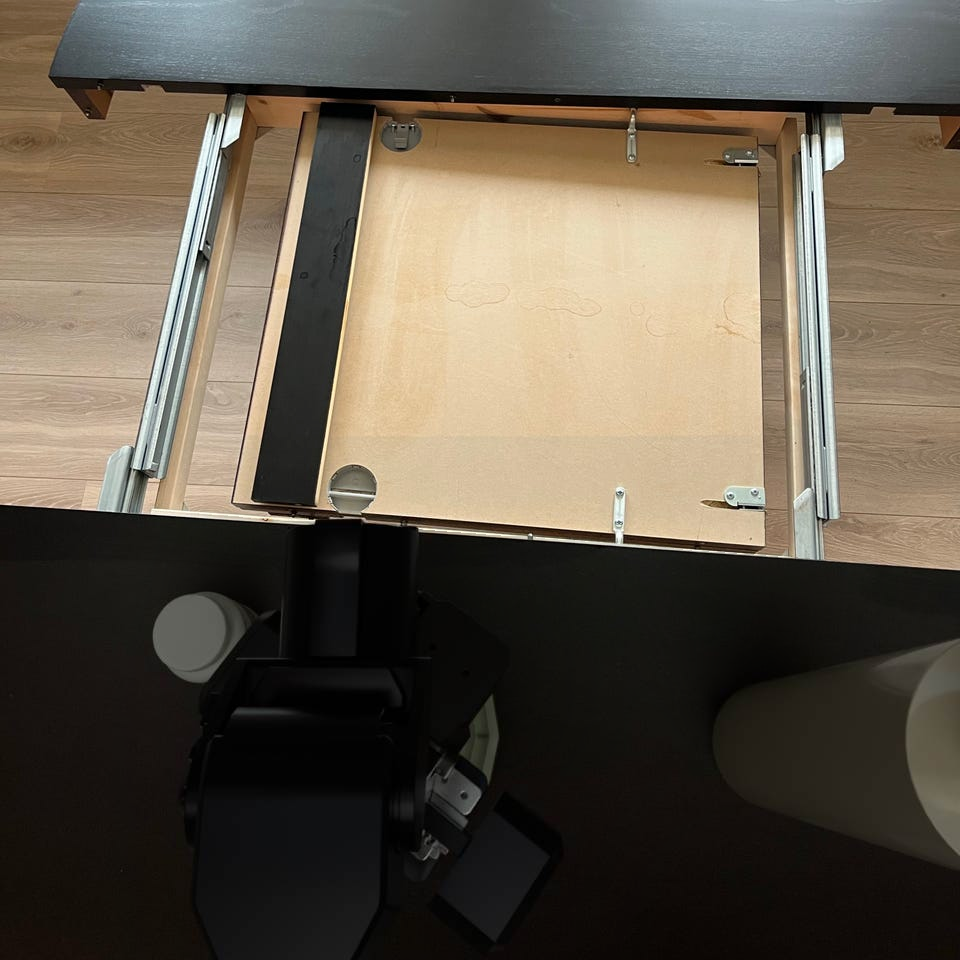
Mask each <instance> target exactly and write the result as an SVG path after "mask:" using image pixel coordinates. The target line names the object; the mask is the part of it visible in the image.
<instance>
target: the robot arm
mask: <svg viewBox="0 0 960 960" xmlns="http://www.w3.org/2000/svg"><path fill="white" fill-rule="evenodd" d="M419 542H420V528H419V527H418V526H415V525H394V524H386V523H376V522H365V521H364V520H363V519H362V518H315V520H314V522H313V523H308V524H302V525H298V526H289V527H286V536H285V551H284V565H283V568H284V569H283V581H282V584H283V585H282V597H281V598H282V599H281V609H279V608H278V609H273V610H268V611H263V613H262V614H260V615H258V616H259V617H258V618H257V619H256V620H254V622H253V623H252V624H251V626H250V627H249V628H248V629H247V631H246V632H245V633H244V635H243V636H242V637H241V638H240V640H239V641H238V642H237V644H236V645H235V646H234V647H233V649H232V650H231V651H230V653H229V654H228V655H227V656H226V658H225V659H224V660H223V662H222V663H221V664H220V666H219V667H218V668H217V669H216V671H215V672H214V673H213V675H212V676H211V677H210V678H209V680H208V681H207V682H206V684H203V687H202V689H201V691H200V694H199V696H198V714H200V716H201V719H200V723H199V725H198V728H197V731H196V735H195V736H194V737H195V738H194V740H193V744H192V746H191V749H190V751H189V755H188V757H187V758H188V759H187V761H186V764H185V767H184V770H183V773H182V776H181V779H180V781H179V786H178V789H177V798H176V799H177V811H178V813H179V814H180V816H181V817H182V819H183V822H184V823H183V824H184V825H183V826H184V835H185V840H186V845H187V846H188V848H189V849H190V851H191V852H193V854H192V867H191V879H190V880H191V881H190V891H189V905H190V908H191V912H192V914H193V918H194V919H195V922H196V924H197V927H198V929H199V932H200V934H201V936H202V939H203V941H204V944H205V946H206V948H207V950H208V953H209V955H210V957H211V960H374V958H375V957H376V954H377V953H378V951H379V950H380V948H381V946H382V944H383V942H384V940H385V938H386V937H387V935H388V933H389V931H390V930H391V928H392V926H393V924H394V922H395V921H396V919H397V917H398V915H399V913H400V910H401V909H402V906H403V896H404V878H405V877H406V878H407V879H408V880H409V881H410V882H413V883H417V884H418V883H423V882H425V881H427V880H428V878H429V877H430V876H431V874H432V873H433V871H434V870H435V868H436V867H437V866H438V864H439V862H440V860H441V859H442V858H443V856H447V854H448V853H449V852H450V853H451V854H452V855H453V856H455V857H456V858H457V860H456V862H454V864H453V866H452V867H451V869H450V871H449V872H448V873H447V875H446V876H445V878H444V879H443V881H442V882H441V884H440V885H439V887H438V889H437V890H436V892H435V893H434V894H433V895H432V897H431V898H430V900H429V901H428V903H427V905H426V906H425V908H426V909H427V910H428V911H429V912H430V913H431V914H432V915H434V916H435V917H436V918H437V919H439V920H440V921H441V922H442V923H443V924H445V926H447V927H448V928H449V929H450V930H451V931H453V932H454V933H455V934H456V935H457V936H458V937H459V938H460V939H462V940H463V941H464V942H465V943H466V944H468V946H470V947H471V948H472V949H474V950H475V951H476V952H477V953H478V954H480V955H481V957H483V958H485V957H490V956H495V955H499V954H502V953H503V952H504V950H505V949H506V947H507V946H508V945H509V943H510V942H511V941H512V939H513V937H514V936H515V934H516V933H517V931H518V929H519V928H520V927H521V925H522V923H523V922H524V920H525V918H526V917H527V916H528V914H529V912H530V911H531V909H532V907H533V906H534V905H535V903H536V901H537V900H538V898H539V897H540V895H541V893H542V892H543V890H544V889H545V888H546V886H547V884H548V882H549V881H550V879H551V878H552V876H553V875H554V873H555V872H556V870H557V868H558V867H559V865H560V863H561V861H562V860H563V858H564V857H565V851H564V845H563V839H562V833H561V832H560V831H559V830H558V829H557V828H555V827H554V826H552V825H551V824H550V823H549V822H548V821H546V820H545V819H544V818H543V817H541V816H540V815H539V814H538V813H537V812H535V811H534V810H533V809H532V808H531V807H529V806H528V805H527V804H525V803H524V802H523V801H522V800H520V799H519V798H518V797H516V796H515V795H513V794H512V793H511V792H509V791H508V790H506V789H503V791H502V792H501V794H500V796H499V797H498V798H497V800H496V801H495V803H494V805H493V806H492V808H491V809H490V811H489V812H488V814H487V815H486V816H485V818H484V820H483V821H482V823H481V824H480V825H479V827H478V829H477V830H476V832H475V833H474V834H473V835H472V834H470V833H469V832H468V831H467V830H466V829H465V828H466V827H467V825H468V823H469V821H470V819H471V818H470V816H471V815H472V814H473V811H475V809H476V807H477V806H478V804H479V803H480V801H481V800H482V798H483V797H484V795H485V794H486V793H487V791H488V787H489V786H488V780H487V777H486V775H485V774H484V773H483V772H482V771H481V770H479V769H478V768H477V767H476V766H475V765H473V764H472V763H471V762H470V761H468V760H467V759H466V758H465V757H463V756H462V755H461V754H460V751H461V750H462V748H463V747H464V746H465V744H466V743H467V741H468V740H469V738H470V736H471V734H470V728H469V725H470V724H471V723H472V721H473V720H474V718H475V717H476V716H477V714H478V713H479V711H480V710H481V709H482V707H483V706H484V704H485V703H486V702H487V700H488V699H489V697H490V696H491V695H492V693H494V692H495V691H496V689H497V688H498V685H499V684H500V682H501V680H502V679H503V677H504V674H505V673H506V671H507V670H508V667H509V665H510V661H511V653H510V649H509V647H508V645H507V644H506V643H505V642H504V641H503V640H502V639H501V638H500V637H498V636H497V635H496V634H494V633H493V632H492V631H491V630H489V628H487V627H485V626H484V625H483V624H482V623H480V622H479V621H478V620H477V619H475V618H474V617H472V615H469V614H468V612H466V611H464V610H463V609H462V608H460V607H459V606H458V605H457V604H456V603H454V602H452V601H449V600H445V599H439V600H437V599H436V598H435V597H433V596H432V595H430V594H429V593H428V592H427V591H425V590H422V591H420V590H419V549H420V548H419V547H420V546H419V545H420V543H419Z"/></svg>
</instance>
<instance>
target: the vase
mask: <svg viewBox="0 0 960 960" xmlns="http://www.w3.org/2000/svg"><path fill="white" fill-rule="evenodd" d="M715 717H716V718H715V721H714V723H713V727H712V737H711V738H712V740H711V741H712V743H711V744H712V751H713V757H714V761H715V764H716V766H717V768H718V771H719V773H720V774H721V777H722V778H723V780H724V781H725V782H726V784H727V785H728V786H729V788H730V789H731V790H732V791H733V792H734V793H735V794H736V795H738V796H739V797H740V798H741V799H742V800H744V801H745V802H747V803H749V804H751V805H753V806H755V807H758V808H761V809H764V810H767V811H770V812H774V813H777V814H779V815H783V816H785V817H789V818H792V819H795V820H798V821H801V822H804V823H808V824H810V825H814V826H817V827H820V828H823V829H826V830H830V831H833V832H835V833H838V834H841V835H844V836H847V837H851V838H854V839H858V840H860V841H863V842H866V843H869V844H872V845H876V846H878V847H882V848H885V849H888V850H892V851H894V852H897V853H901V854H904V855H907V856H910V857H912V858H916V859H919V860H922V861H925V862H928V863H931V864H934V865H937V866H941V867H944V868H947V869H950V870H953V871H956V872H959V873H960V636H957V637H954V638H949V639H944V640H941V641H936V642H932V643H927V644H923V645H918V646H915V647H914V646H913V647H909V648H905V649H900V650H897V651H892V652H888V653H884V654H883V653H882V654H879V655H873V656H870V657H866V658H861V659H856V660H852V661H848V662H843V663H839V664H835V665H831V666H825V667H822V668H817V669H813V670H809V671H804V672H800V673H796V674H790V675H787V676H782V677H778V678H777V677H776V678H773V679H769V680H765V681H764V680H763V681H759V682H756V683H751V684H749V685H746V686H744V687H742V688H740V689H737V691H735V692H734V693H733V694H732V695H730V696H729V697H728V698H727V699H726V701H724V702H723V704H722V706H721V707H720V709H719V711H718V712H717V714H716V716H715Z"/></svg>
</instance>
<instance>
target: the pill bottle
mask: <svg viewBox="0 0 960 960" xmlns="http://www.w3.org/2000/svg"><path fill="white" fill-rule="evenodd" d="M259 616H260V615H258V614H257V613H256V612H255V611H254V610H253V609H252V608H250V607H249V606H246V605H245V604H243V603H242V602H238V601H236V600H234V599H232V598H230V597H229V596H226V595H223V594H220V593H218V592H213V591H199V592H195V593H190V594H184V595H180V596H178V597H176V598H174V599H172V600H171V601H170V602H168V603H167V604H166V605H165V606H164V607H163V609H162V610H161V611H160V613H159V614H158V615H157V617H156V619H155V622H154V626H153V629H152V643H153V648H154V650H155V653H156V655H157V656H158V658H159V659H160V660H161V662H162V663H163V664H165V665H166V666H167V668H168V669H169V670H170V671H171V672H172V673H173V674H174V676H177V677H178V678H180V679H182V680H184V681H185V682H189V683H194V684H201V685H205V684H206V682H207V681H208V680H209V678H210V677H211V676H212V675H213V673H214V672H215V671H216V669H217V668H218V667H219V666H220V664H221V663H222V662H223V660H224V659H225V658H226V656H227V655H228V654H229V653H230V651H231V650H232V649H233V647H234V646H235V645H236V644H237V642H238V641H239V640H240V638H241V637H242V636H243V635H244V633H245V632H246V631H247V629H248V628H249V627H250V626H251V624H252V623H253V622H254V620H256V619H257V618H258V617H259Z"/></svg>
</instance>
